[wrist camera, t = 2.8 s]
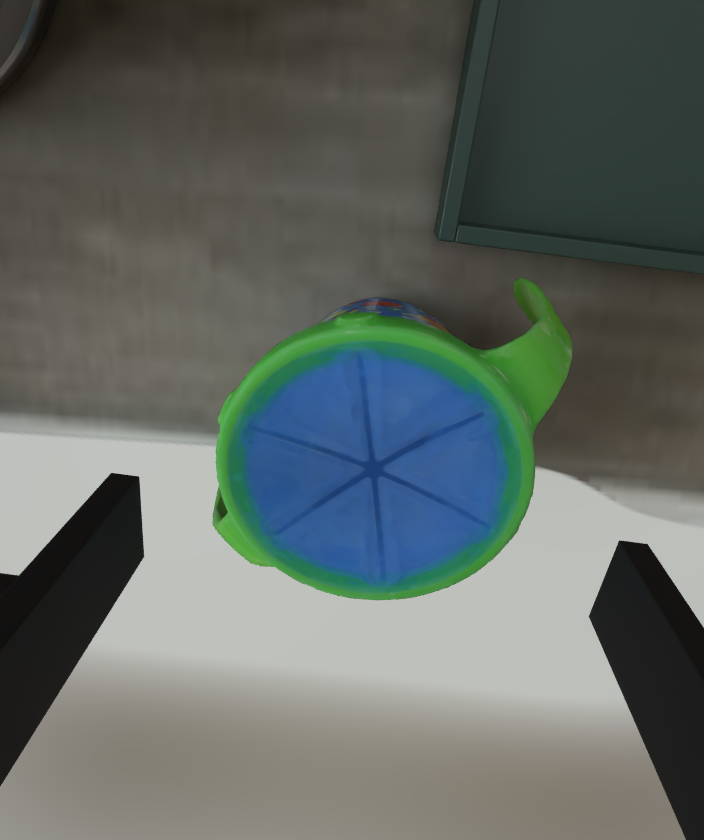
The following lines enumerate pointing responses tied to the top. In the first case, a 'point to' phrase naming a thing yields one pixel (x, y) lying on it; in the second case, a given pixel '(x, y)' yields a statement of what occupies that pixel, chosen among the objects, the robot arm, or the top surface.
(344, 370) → the sippy cup
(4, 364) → the top surface
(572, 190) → the tray
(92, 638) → the robot arm
